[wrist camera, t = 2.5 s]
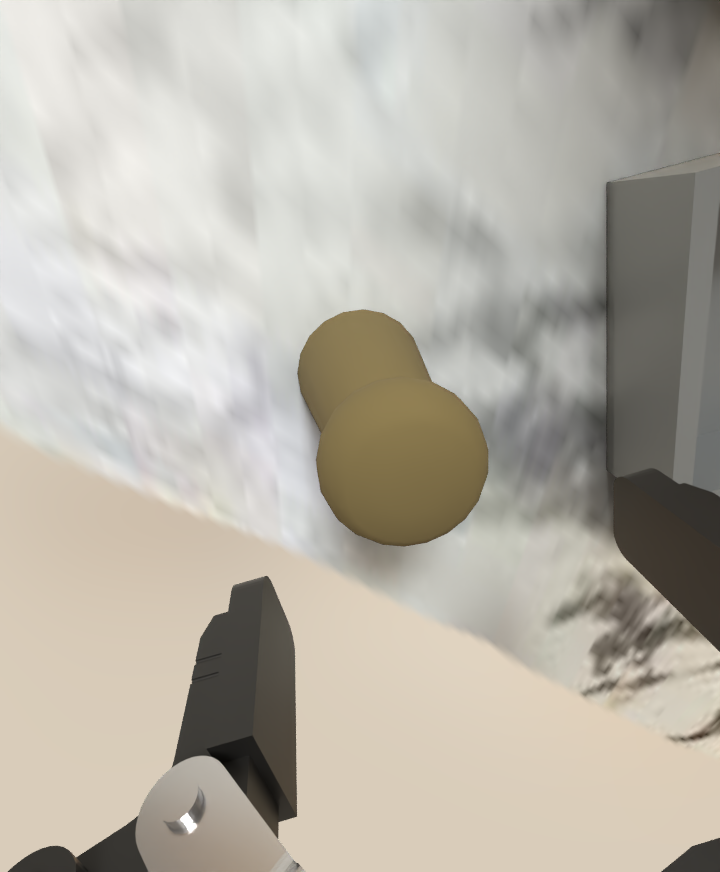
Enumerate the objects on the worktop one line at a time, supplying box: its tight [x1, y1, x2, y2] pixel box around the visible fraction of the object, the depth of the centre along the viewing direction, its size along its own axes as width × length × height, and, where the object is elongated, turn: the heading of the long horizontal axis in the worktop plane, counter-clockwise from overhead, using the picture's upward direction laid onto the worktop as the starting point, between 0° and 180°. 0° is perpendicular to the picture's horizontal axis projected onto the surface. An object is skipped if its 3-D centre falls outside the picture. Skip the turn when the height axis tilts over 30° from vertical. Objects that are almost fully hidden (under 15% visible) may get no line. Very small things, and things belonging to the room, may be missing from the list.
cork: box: [298, 310, 488, 546], centre depth 18 cm, size 6×6×11 cm
